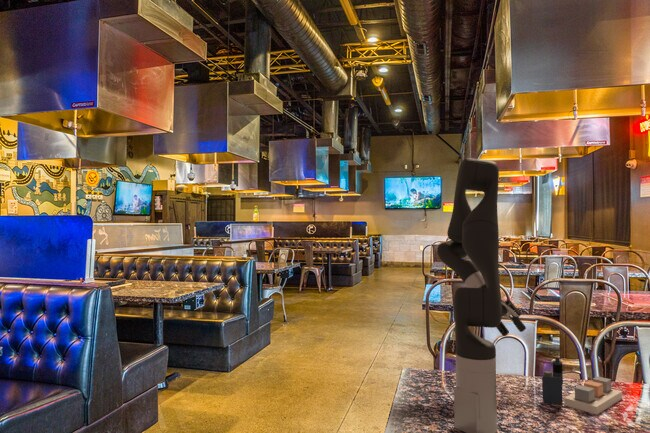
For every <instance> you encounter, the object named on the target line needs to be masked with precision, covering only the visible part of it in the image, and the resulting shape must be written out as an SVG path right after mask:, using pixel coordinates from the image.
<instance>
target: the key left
mask: <svg viewBox="0 0 650 433" xmlns="http://www.w3.org/2000/svg"><path fill="white" fill-rule="evenodd" d="M574 392H575V399H579V400H583V401H586V402H591V401H592V400H594V399H595V398H594V388H590V387H586V386H584V385H581V384H579V385H577V386H575V387H574Z"/></svg>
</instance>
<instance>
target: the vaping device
mask: <svg viewBox="0 0 650 433" xmlns="http://www.w3.org/2000/svg"><path fill="white" fill-rule="evenodd" d="M554 359H555V360H553V361H552V371H549V370H544V371H543V374H542V377H541V386H542V390H541V392H542V394H541V395H542V401H543V402H544V403H546V404H556V405H557V404H558V405H562V404H564V402H563V400H564V399H563V385H564V376H563V361H561V360H560V359H561V358H559V357H555V358H554Z"/></svg>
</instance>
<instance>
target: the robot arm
mask: <svg viewBox="0 0 650 433" xmlns="http://www.w3.org/2000/svg"><path fill="white" fill-rule="evenodd" d="M457 171H458V172H457V176H456V184H455V189H454V191H455V192H454V196H453V206H452V213H451V217H450V220H449V224H448V228H447V232H446V233H447V235H446V236H447V237H448V239H449V240H448V241H444V242H442V243H441V242H440V243H439V245H437V248H436V249H437V250H436V251H437V252H436V253H437V256H438V258H439V259H440V261H441V262H442V263H443V264H444V265H445V266H447V267H448V268H449V269H450V270H452V271H453V272H454V273H456V274H457V275H458V277H459V278H460V279H461V281H462V282H463V283H464V285H465V287H458V288H456V290H455V292H454V296H453V314H454V327H455V328H454V331H455V387H454V388H453V407H454V409H453V411H454V412H453V414H454V416H453V417H454V422H453V423H454V424H453V425H454V428H455V430H458V431H461V432H464V433H497V432H498V410H497V408H498V405H497V404H498V403H497V402H498V401H497V398H498V397H497V350H496V345H495V344H494V343H493V342H492V341H490V340H487V339H485V338H484V337H483V338H482V337H480V336H479V335H477V334H476V333H474V332H473V331H471V329H470V328H469V327H473V328H474V327H476V328H489V329H490V328H496V329H497V330H498V332H499V333H500V335H502V337H506V336H507V335H509V333H510V331H509V330H508V328H507V327H506V325H505V324H504V323H503V322H502V317H503V318H504V319H508V320H510V321H512V323H513V325H514V326H515V328H516V329H517V330H518V331H519V332H520V333H522V332H524V331H525V330H527V327H526V326H525V324H524V323H523V321H522V320H521V319H520V316H521V315H522V313H521V311H520V310H519V309H518V308H517V307H516V306H515V304H514V303H513V302H512V301H511V300H510V299H507V300H506V301H503V299H502V294H501V292H502V291H501V284H500V270H499V268H500V267H499V245H500V244H499V242H500V240H499V239H500V238H499V235H500V234H499V219H498V218H499V217H498V198H499V197H498V196H499V194H498V193H499V183H500V182H499V179H500V169H499V165H498V163H497V162H495V161H493V160H487V159H481V158H480V159H479V158H471V157H469V158H468V157H467V158H464V159H463V160H461V163H460V165H459V168H458V170H457ZM467 190H468V191H475V192H481V193H482V192H483V193H484V196H483V197H482V199H481V200H480V202H479V203H478V204H477V205H476V206H475V207H474V208H473V209H472V208H471V207H470V204H469V202H468V199H467V196H466V194H467V193H466V191H467ZM466 257H468V258H469V259H468V258H466ZM464 258H465V259H464Z"/></svg>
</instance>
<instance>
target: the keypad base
mask: <svg viewBox="0 0 650 433" xmlns="http://www.w3.org/2000/svg"><path fill="white" fill-rule="evenodd" d="M594 398H595V399H594V400H592V401H591V402H586V401H583V400H579V399H575V391H574V392H573V393H571V394H569V395H567V396H565V397H564V398H563V400H564V402H563V404H564V407H565V406H566V407H569V408H572V409H576V410H579V411H582V412H587V413H590V414H593V415H599V414H601V413H602V412H603V411H605V410H606V409H607V410H608V409H609V408H610V407H611V406H613V405H614V404H616V403H618V402H620V401H621V400H622V399H623V391H621V390H618V389H614V388H611V390H609V391H608V392H604V391H603V395H601V396H599V397H596V396H594Z"/></svg>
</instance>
